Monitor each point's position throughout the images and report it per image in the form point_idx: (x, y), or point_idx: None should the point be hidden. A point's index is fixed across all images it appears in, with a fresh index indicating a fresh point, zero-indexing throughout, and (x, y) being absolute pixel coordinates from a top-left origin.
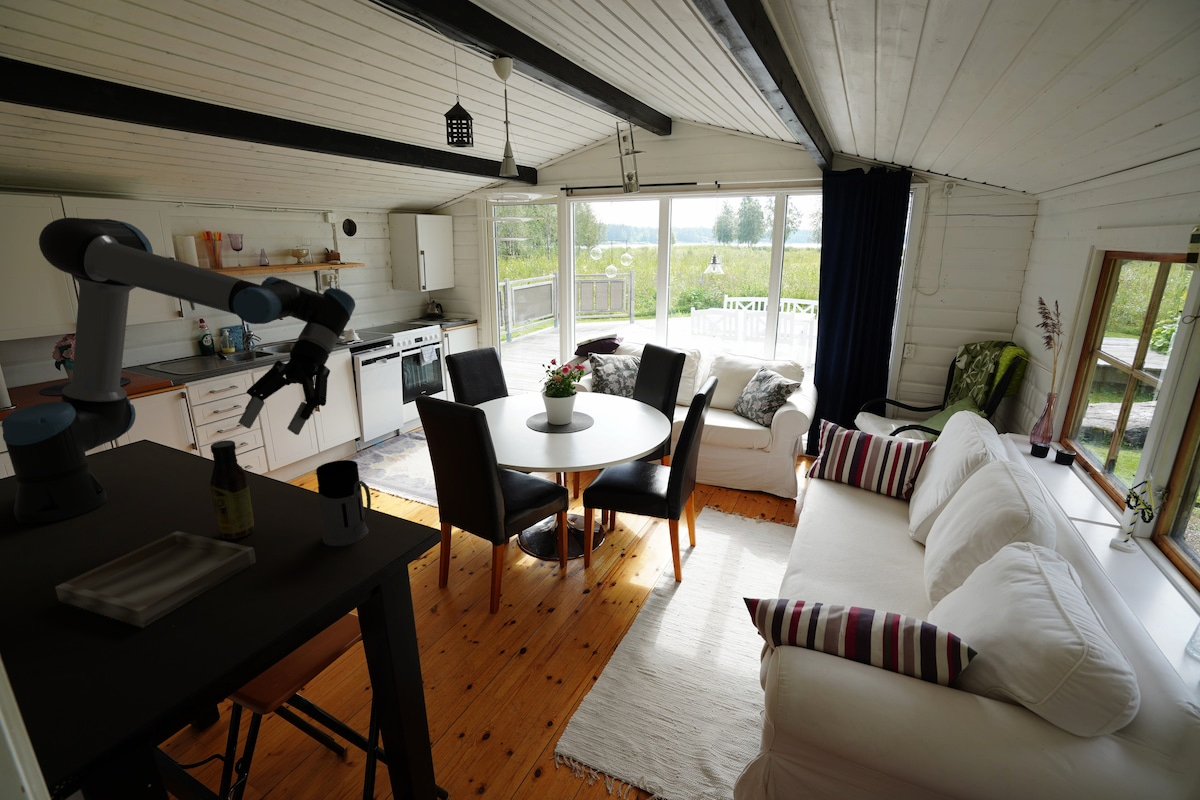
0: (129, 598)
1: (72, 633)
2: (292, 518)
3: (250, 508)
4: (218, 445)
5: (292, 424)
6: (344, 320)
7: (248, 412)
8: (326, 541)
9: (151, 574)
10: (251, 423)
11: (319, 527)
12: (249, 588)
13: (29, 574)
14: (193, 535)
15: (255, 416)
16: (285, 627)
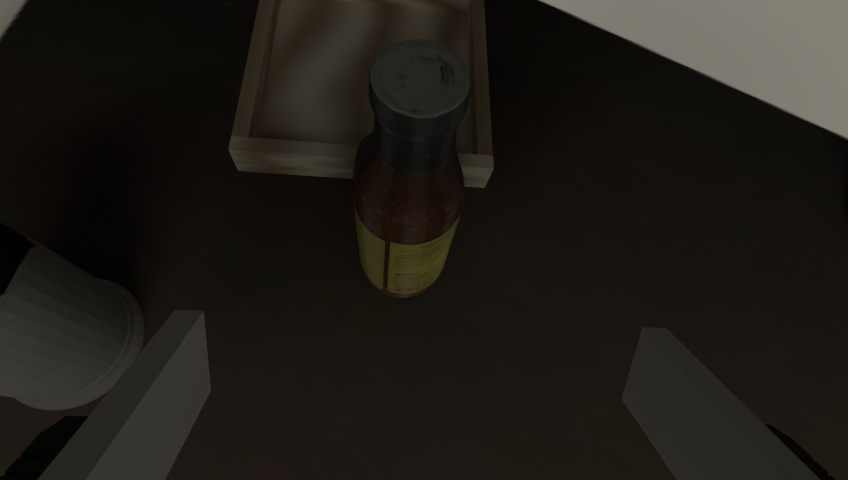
0: (359, 21)
1: None
2: (323, 381)
3: (363, 252)
4: (415, 53)
5: (157, 334)
6: None
7: (693, 397)
8: (103, 280)
9: None
10: (640, 413)
11: None
12: (175, 97)
13: (626, 57)
14: None
15: (673, 460)
16: (13, 26)
